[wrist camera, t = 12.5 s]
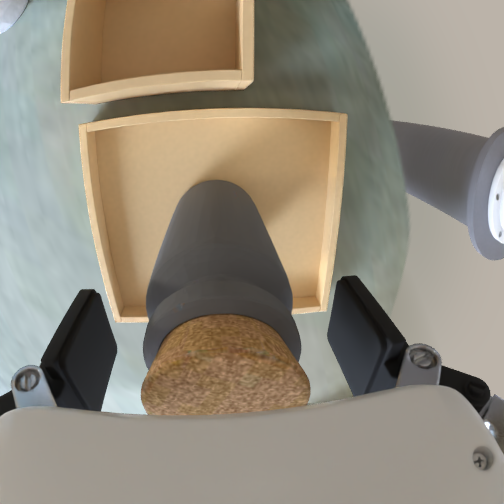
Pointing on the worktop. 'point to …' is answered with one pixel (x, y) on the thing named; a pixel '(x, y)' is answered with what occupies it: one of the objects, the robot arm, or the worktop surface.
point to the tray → (214, 168)
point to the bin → (155, 48)
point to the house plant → (10, 12)
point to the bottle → (220, 313)
